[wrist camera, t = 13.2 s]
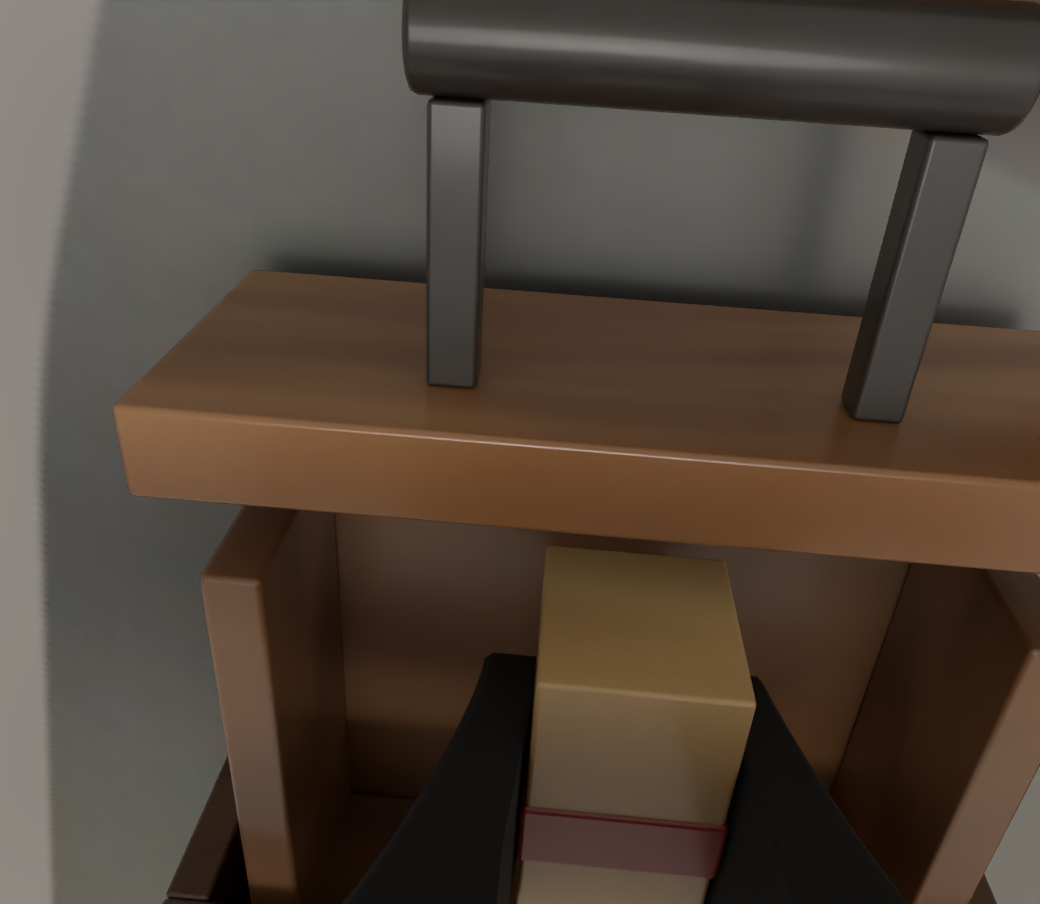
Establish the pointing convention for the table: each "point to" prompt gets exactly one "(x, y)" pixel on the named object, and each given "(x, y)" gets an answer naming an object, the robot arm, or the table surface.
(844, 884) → the robot arm
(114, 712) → the table surface
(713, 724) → the red striped tan block
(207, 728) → the table surface
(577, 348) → the drawer
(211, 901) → the cabinet
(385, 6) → the table surface
